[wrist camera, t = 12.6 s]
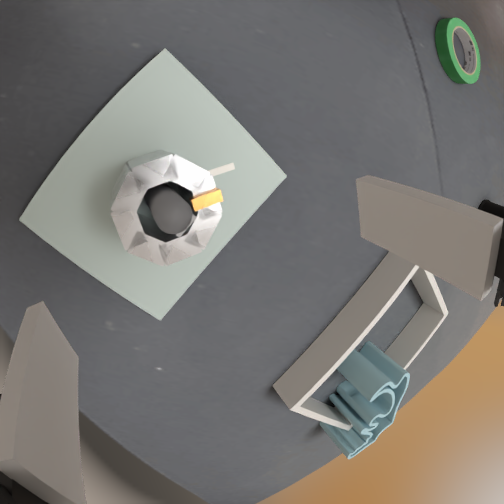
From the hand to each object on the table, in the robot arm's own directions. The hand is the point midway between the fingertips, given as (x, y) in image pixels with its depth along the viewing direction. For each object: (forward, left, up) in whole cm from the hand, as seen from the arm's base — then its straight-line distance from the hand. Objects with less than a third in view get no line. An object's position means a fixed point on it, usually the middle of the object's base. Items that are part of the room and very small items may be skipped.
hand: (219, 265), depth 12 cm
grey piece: (0, 0, -16) cm, 16 cm away
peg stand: (0, 0, -18) cm, 18 cm away
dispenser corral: (+37, +3, -18) cm, 41 cm away
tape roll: (+15, +46, -18) cm, 51 cm away
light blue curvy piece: (+43, -5, -18) cm, 47 cm away
